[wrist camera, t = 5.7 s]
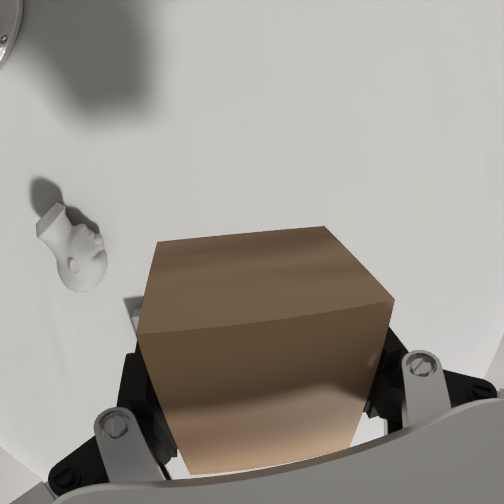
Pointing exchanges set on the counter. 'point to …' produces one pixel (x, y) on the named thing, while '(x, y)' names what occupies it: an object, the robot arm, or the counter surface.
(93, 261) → the smooth white sculpture
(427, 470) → the robot arm
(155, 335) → the walnut brick
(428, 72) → the counter surface
